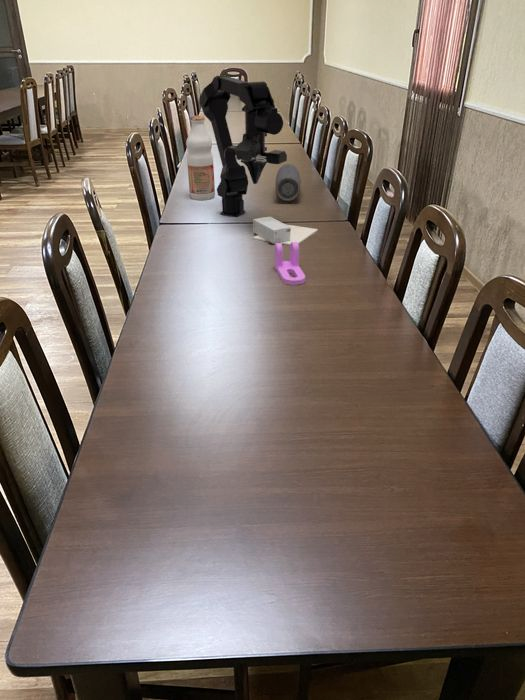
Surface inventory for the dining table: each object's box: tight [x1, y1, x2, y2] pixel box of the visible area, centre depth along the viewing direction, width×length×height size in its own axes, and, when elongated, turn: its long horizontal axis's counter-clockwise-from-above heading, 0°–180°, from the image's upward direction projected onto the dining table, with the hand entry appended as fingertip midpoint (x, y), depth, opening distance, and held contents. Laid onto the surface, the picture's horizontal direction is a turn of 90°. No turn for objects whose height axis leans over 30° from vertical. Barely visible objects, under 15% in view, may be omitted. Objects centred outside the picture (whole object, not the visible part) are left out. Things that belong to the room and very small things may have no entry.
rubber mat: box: [252, 223, 319, 246], centre depth 162 cm, size 14×16×1 cm
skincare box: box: [252, 216, 291, 245], centre depth 159 cm, size 6×4×12 cm
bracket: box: [273, 242, 306, 286], centre depth 133 cm, size 13×6×7 cm, turn 11°
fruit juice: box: [185, 115, 216, 201], centre depth 193 cm, size 9×9×28 cm
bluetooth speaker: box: [275, 163, 302, 202], centre depth 199 cm, size 23×9×10 cm, turn 178°
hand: (255, 183), depth 165 cm, fingers closed
